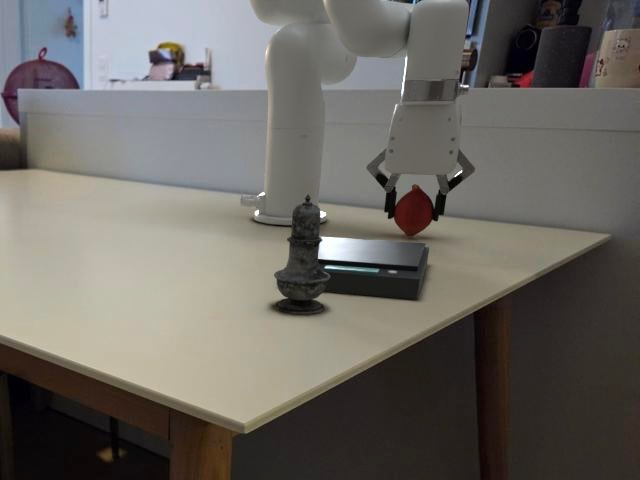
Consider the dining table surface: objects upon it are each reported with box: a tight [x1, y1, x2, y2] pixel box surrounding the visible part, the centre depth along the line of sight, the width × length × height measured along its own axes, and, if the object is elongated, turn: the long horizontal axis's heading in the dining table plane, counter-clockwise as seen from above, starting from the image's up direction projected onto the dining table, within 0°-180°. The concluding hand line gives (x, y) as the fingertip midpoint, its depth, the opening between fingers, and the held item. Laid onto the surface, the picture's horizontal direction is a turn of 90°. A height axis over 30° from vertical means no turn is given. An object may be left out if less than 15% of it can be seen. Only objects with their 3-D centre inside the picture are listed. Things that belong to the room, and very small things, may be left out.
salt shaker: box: [273, 194, 330, 315], centre depth 77 cm, size 6×6×12 cm
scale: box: [318, 236, 430, 300], centre depth 91 cm, size 15×18×3 cm
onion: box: [392, 183, 435, 238], centre depth 112 cm, size 6×6×8 cm
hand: (413, 217), depth 113 cm, fingers closed on onion, 5 cm apart
